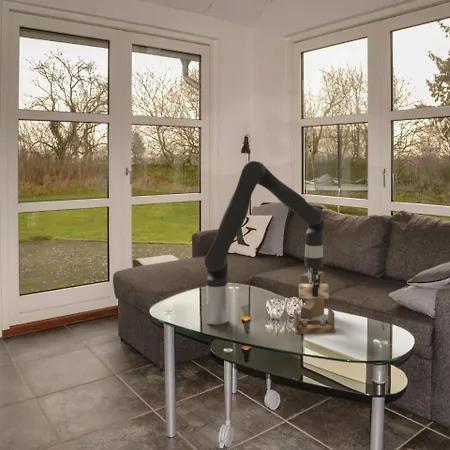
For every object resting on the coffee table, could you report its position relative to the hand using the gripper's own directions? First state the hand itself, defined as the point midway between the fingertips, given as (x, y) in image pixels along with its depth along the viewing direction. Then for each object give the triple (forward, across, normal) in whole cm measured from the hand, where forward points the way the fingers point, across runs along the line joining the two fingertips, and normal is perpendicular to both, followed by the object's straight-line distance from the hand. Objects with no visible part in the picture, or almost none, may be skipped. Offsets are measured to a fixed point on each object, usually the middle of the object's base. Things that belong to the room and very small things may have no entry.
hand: (313, 294), depth 216 cm
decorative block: (+16, +18, -3) cm, 24 cm away
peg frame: (+15, 0, 0) cm, 15 cm away
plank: (+1, 0, 0) cm, 1 cm away
